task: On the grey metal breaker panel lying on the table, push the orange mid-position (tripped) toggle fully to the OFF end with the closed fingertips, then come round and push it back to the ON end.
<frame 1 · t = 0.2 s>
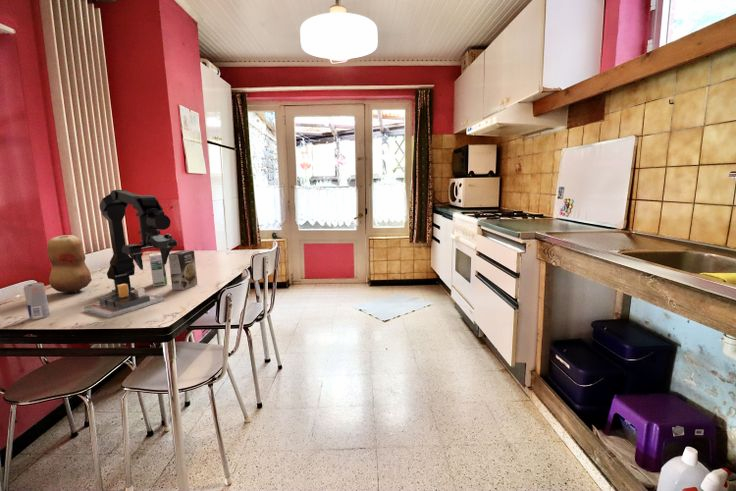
hand: (153, 266, 139), 14 cm above the table, fingers open, 9 cm apart
syrup box: (160, 284, 163), on the table
butternut squash: (73, 292, 153), on the table
white carton: (40, 317, 125), on the table
coffee box: (185, 287, 158), on the table
panel: (125, 305, 135), on the table
orange handle: (123, 290, 134), point 6 cm above the table, slide at 0.0 cm
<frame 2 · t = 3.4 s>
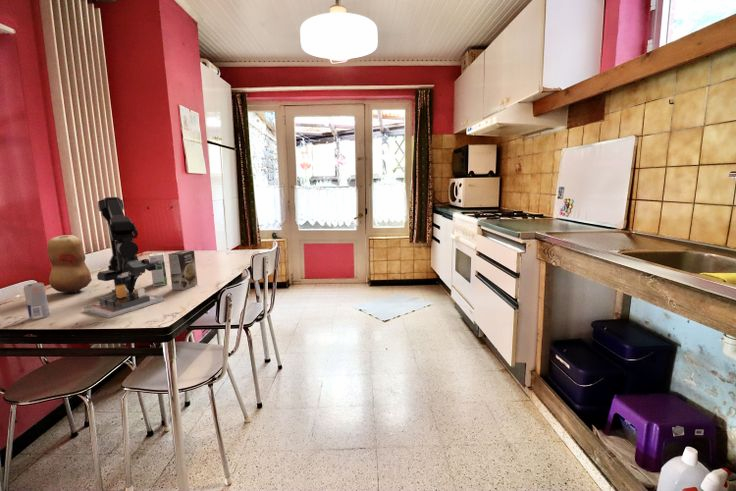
hand: (131, 292, 136), 5 cm above the table, fingers closed
orange handle: (120, 291, 133), point 6 cm above the table, slide at -0.8 cm, touching gripper
everything else where it was.
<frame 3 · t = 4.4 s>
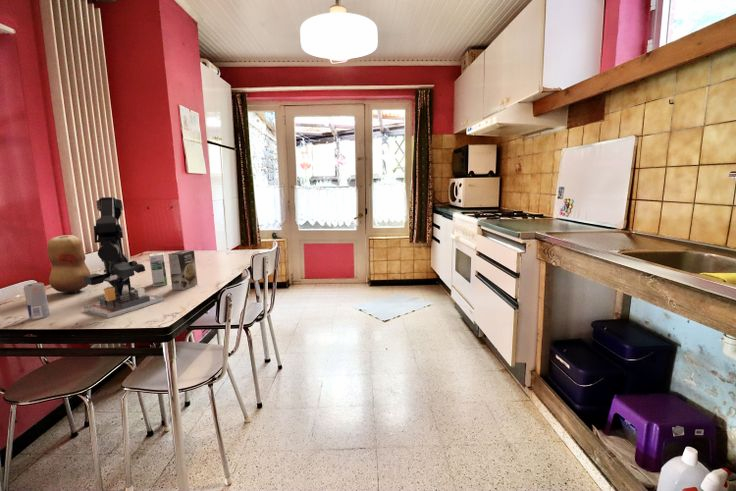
hand: (120, 295, 133), 5 cm above the table, fingers closed
orange handle: (109, 294, 130), point 6 cm above the table, slide at -4.6 cm, touching gripper
everything else where it was.
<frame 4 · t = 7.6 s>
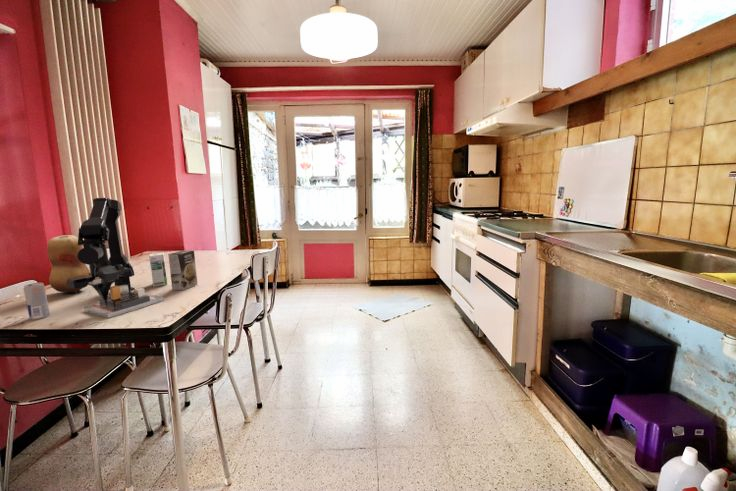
hand: (104, 299, 129), 4 cm above the table, fingers closed
orange handle: (115, 292, 131), point 6 cm above the table, slide at -2.8 cm, touching gripper
everything else where it was.
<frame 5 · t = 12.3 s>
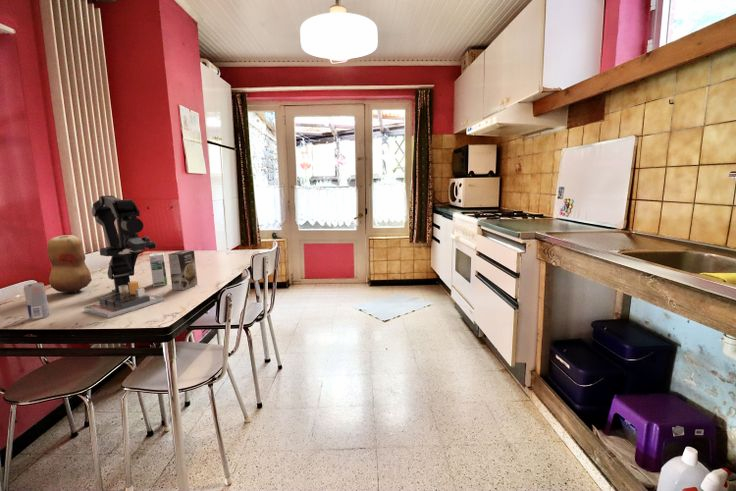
hand: (132, 268, 143), 12 cm above the table, fingers closed
orange handle: (133, 287, 137), point 6 cm above the table, slide at 3.9 cm
everything else where it was.
at the end: orange handle slide at 3.9 cm; orange handle touching nothing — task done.
